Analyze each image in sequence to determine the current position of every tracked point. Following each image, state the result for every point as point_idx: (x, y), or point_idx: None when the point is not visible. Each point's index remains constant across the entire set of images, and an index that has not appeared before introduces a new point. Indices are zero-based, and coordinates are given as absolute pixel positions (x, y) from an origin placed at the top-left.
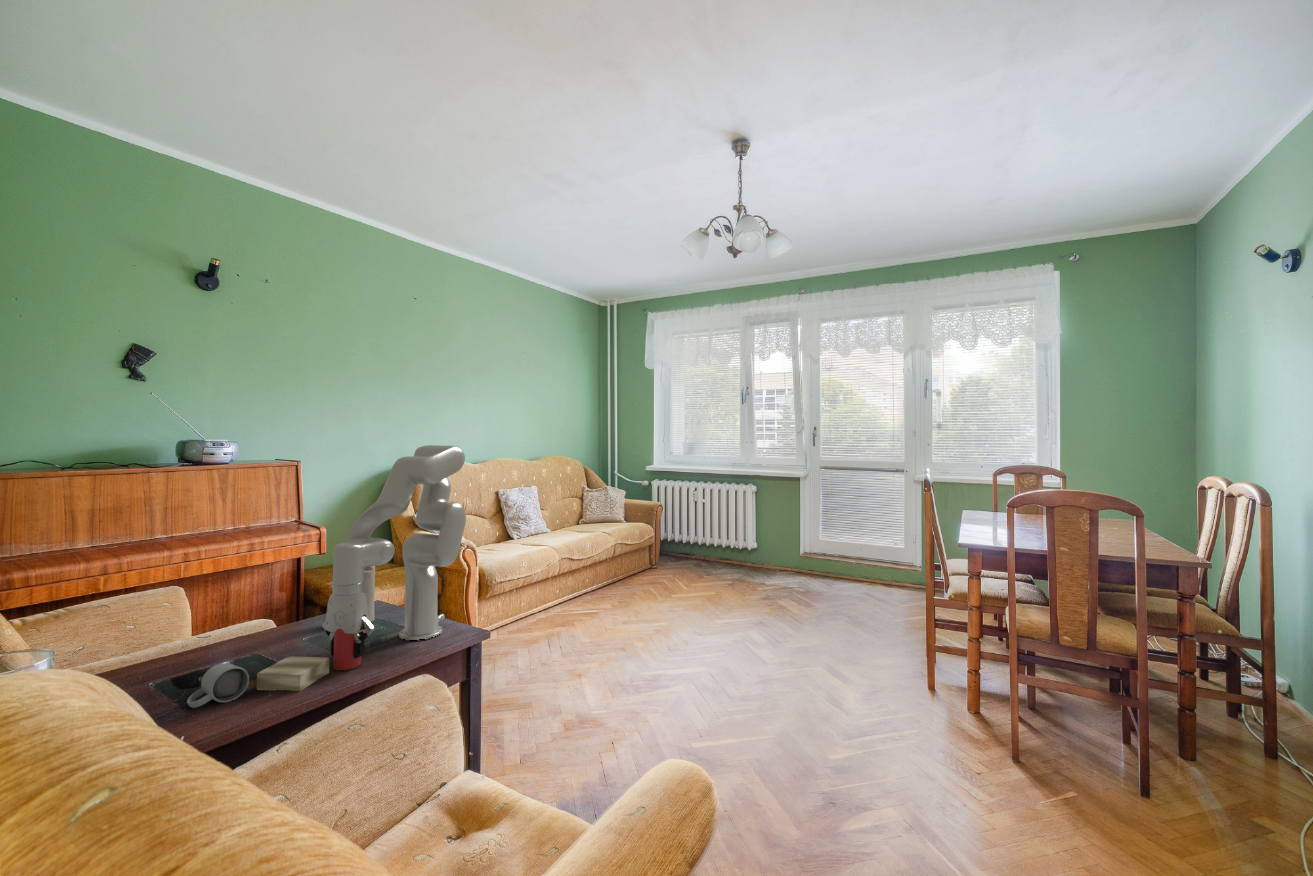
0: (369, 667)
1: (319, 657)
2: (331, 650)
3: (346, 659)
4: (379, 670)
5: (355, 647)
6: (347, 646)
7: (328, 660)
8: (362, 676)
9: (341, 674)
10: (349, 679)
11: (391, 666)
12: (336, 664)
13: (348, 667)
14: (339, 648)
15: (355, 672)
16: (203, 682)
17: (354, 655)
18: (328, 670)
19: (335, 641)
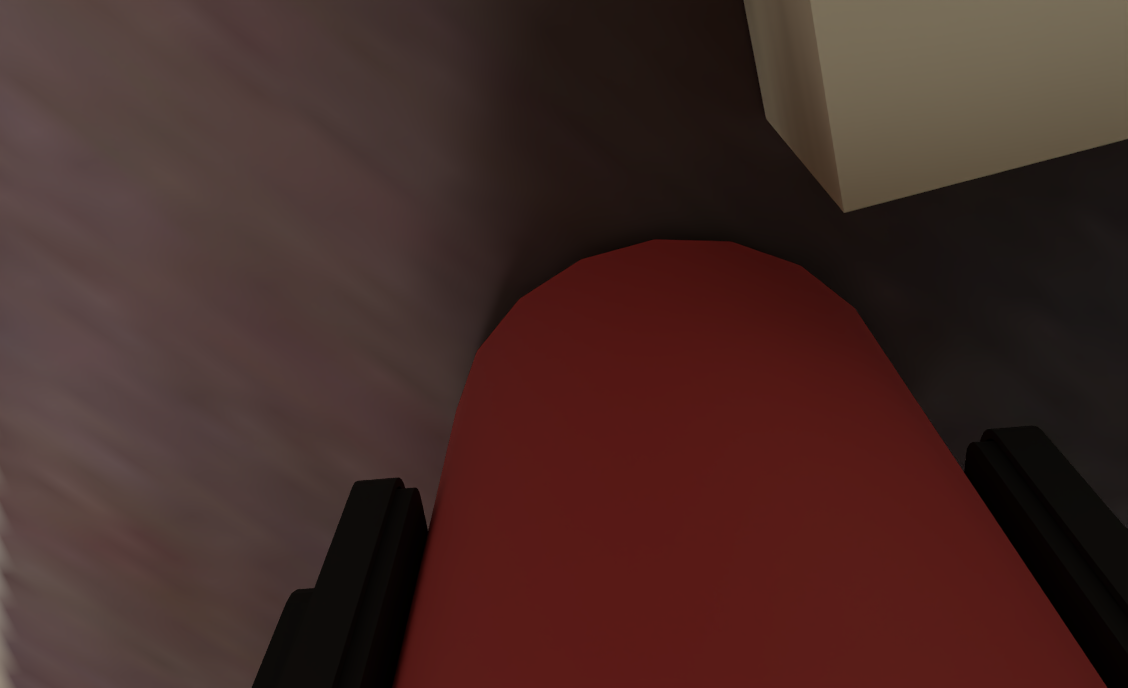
0: (307, 507)
1: (1122, 114)
2: (1064, 489)
3: (504, 381)
4: (54, 475)
5: (297, 650)
6: (470, 596)
7: (824, 163)
8: (53, 212)
9: (481, 147)
10: (127, 23)
11: (47, 623)
12: (712, 269)
13: (498, 331)
14: (672, 470)
15: (328, 296)
16: None
17: (378, 509)
18: (771, 109)
19: (916, 616)
